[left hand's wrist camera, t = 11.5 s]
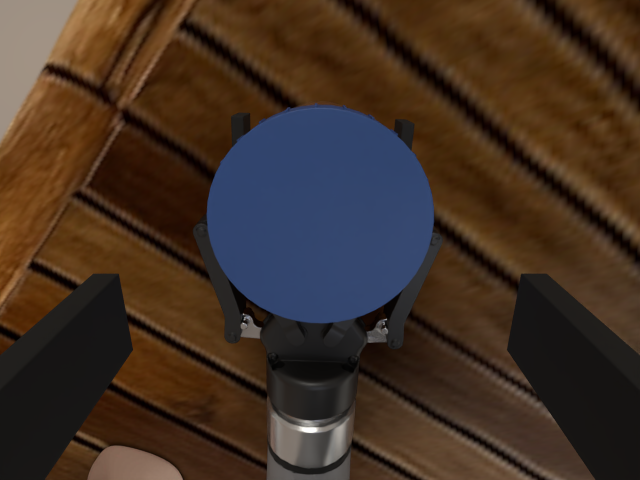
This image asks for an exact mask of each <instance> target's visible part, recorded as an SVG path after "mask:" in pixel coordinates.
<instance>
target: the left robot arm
mask: <svg viewBox="0 0 640 480" xmlns="http://www.w3.org/2000/svg"><path fill="white" fill-rule="evenodd" d="M132 350H133V348H132V342H131V337H130V332H129V326H128V321H127V316H126V310H125V305H124V300H123V294H122V289H121V284H120V278H119V274H93V275H92V276H90V277H89V278H88V279H87V280H86V281H85V282H84V283H82V284H81V285H80V286H79V287H78V288H77V289H76V290H74V291H73V292H72V293H71V294H70V295H69V296H68V297H66V298H65V299H64V300H63V301H62V302H61V303H60V304H58V305H57V306H56V307H55V308H54V309H53V310H52V311H50V312H49V313H48V314H47V315H46V316H45V317H44V318H42V319H41V320H40V321H39V322H38V323H37V324H36V325H34V326H33V327H32V328H31V329H30V330H29V331H28V332H26V333H25V334H24V335H23V336H22V337H21V338H20V339H18V340H17V341H16V342H15V343H14V344H13V345H12V346H10V347H9V348H8V349H7V350H6V351H5V352H4V353H2V354H1V355H0V480H45V478H46V477H47V475H48V474H49V472H50V471H51V469H52V468H53V466H54V465H55V463H56V462H57V461H58V459H59V458H60V456H61V455H62V453H63V452H64V450H65V449H66V447H67V446H68V444H69V443H70V441H71V440H72V439H73V437H74V436H75V434H76V433H77V431H78V430H79V428H80V427H81V425H82V424H83V422H84V421H85V419H86V418H87V416H88V415H89V414H90V412H91V411H92V409H93V408H94V406H95V405H96V403H97V402H98V400H99V399H100V397H101V396H102V394H103V393H104V392H105V390H106V389H107V387H108V386H109V384H110V383H111V381H112V380H113V378H114V377H115V375H116V374H117V372H118V371H119V370H120V368H121V367H122V365H123V364H124V362H125V361H126V359H127V358H128V356H129V355H130V353H131V352H132ZM507 350H508V352H509V353H510V355H511V356H512V358H513V359H514V361H515V362H516V364H517V365H518V367H519V368H520V370H521V371H522V372H523V374H524V375H525V377H526V378H527V380H528V381H529V383H530V384H531V386H532V387H533V389H534V390H535V392H536V393H537V394H538V396H539V397H540V399H541V400H542V402H543V403H544V405H545V406H546V408H547V409H548V411H549V412H550V414H551V415H552V416H553V418H554V419H555V421H556V422H557V424H558V425H559V427H560V428H561V430H562V431H563V433H564V434H565V436H566V437H567V439H568V440H569V441H570V443H571V444H572V446H573V447H574V449H575V450H576V452H577V453H578V455H579V456H580V458H581V459H582V461H583V462H584V463H585V465H586V466H587V468H588V469H589V471H590V472H591V474H592V475H593V477H594V478H595V480H640V355H639V354H638V353H636V352H635V351H634V350H633V349H632V348H631V347H630V346H628V345H627V344H626V343H625V342H624V341H623V340H622V339H620V338H619V337H618V336H617V335H616V334H615V333H614V332H612V331H611V330H610V329H609V328H608V327H607V326H606V325H604V324H603V323H602V322H601V321H600V320H599V319H598V318H596V317H595V316H594V315H593V314H592V313H591V312H590V311H588V310H587V309H586V308H585V307H584V306H583V305H582V304H580V303H579V302H578V301H577V300H576V299H575V298H574V297H572V296H571V295H570V294H569V293H568V292H567V291H566V290H564V289H563V288H562V287H561V286H560V285H559V284H558V283H556V282H555V281H554V280H553V279H552V278H551V277H550V276H548V275H547V274H521V278H520V284H519V289H518V294H517V300H516V305H515V310H514V316H513V321H512V326H511V332H510V337H509V342H508V348H507Z"/></svg>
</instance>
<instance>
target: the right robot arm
mask: <svg viewBox="0 0 640 480" xmlns="http://www.w3.org/2000/svg"><path fill="white" fill-rule="evenodd" d="M231 123H232V147H233V146H234V145H235V144H236V143H237V139H239V138H240V137H241V136H243V135H246V134H247V133H248V132H249V131H250V113H237V114H235V115H233V116H231ZM394 132H396V133H397V134H398V136H397V137H399V138H400V139H401V140H402V141H403V142H404V143H405V144H406V145H407V147H408V148H409V149H410V150H411V149H412V141H413V132H414V123H412V122H410V121H408V120H401V119H395V128H394ZM193 234H194V237H195V239H196V242H197V244H198V247H199V250H200V252H201V255H202V258H203V260H204V263H205V266H206V268H207V271H208V273H209V276H210V279H211V281H212V284H213V287H214V289H215V292H216V295H217V297H218V300H219V302H220V305H221V308H222V310H223V313H224V316H225V339H226V341H227V342H229V343H237V342H238V341H239V340H240V337H249V338H260V340H261V342H262V343H263V345H264V346H265V349H266V353H267V393H268V396H267V441H268V457H267V480H349V479H350V456H351V445H352V437H353V429H354V417H355V405H356V399H355V397H356V393H357V383H358V371H359V360H360V354H361V351H362V350H363V348H364V347H365V346H366V344H367V342H387V344H388V346H389V348H391V349H398V348H400V347H401V346H402V344H403V333H404V323H405V321H406V319H407V316H408V314H409V312H410V310H411V308H412V306H413V304H414V302H415V299H416V297H417V295H418V293H419V291H420V289H421V287H422V285H423V283H424V280H425V278H426V276H427V274H428V272H429V270H430V268H431V266H432V264H433V261H434V259H435V257H436V255H437V253H438V251H439V249H440V247H441V245H442V241H443V239H442V236H441V235H440V233H439V232H438V231H437V229H436V228H435V227H434V226H433V232H432V237H431V241H430V245H429V248H428V251H427V253H426V256H425V258H424V260H423V263H422V264H421V266H420V268H419V269H418V271H417V273H416V274H415V276H414V277H413V278H412V279H411V281H410V282H409V283H408V285H407V286H406V287H405V288H404V289H403V290H402V291H401V292H400V293H399V294H398V295H396V296H395V297H394V298H393V299H391V300H390V301H389V302H387V303H386V304H385V306H384V313H382V312H380V313H378V315H377V316H376V317H375V320H374V322H373V323H372V324H371V325H367V326H366V325H365V323H364V322H363V320H362V319H361V318H360V317H357V318H354V319H350V320H345V321H340V322H333V323H308V322H300V321H295V320H291V319H287V318H284V317H281V316H278V315H276V314H273V313H271V312H270V314H269V315H268V316H267V317H266V318H265V319H264V321H263V322H261V321H258V320H257V319H256V318H255V315H254V312H253V311H252V309H251V308H249V307H247V308H246V300H245V296H244V295H243V294H242V293H241V292H240V291H239V290H238V289H237V288H236V287H235V286H234V285H233V283H232V282H231V281H230V280H229V279H228V277H227V276H226V274H225V273H224V271H223V270H222V268H221V266H220V265H219V263H218V261H217V259H216V257H215V254H214V251H213V248H212V246H211V243H210V238H209V233H208V225H207V214H205V215H204V216H203V217H202V218H201V219H200V221H199V222H198V223H197V224H196V226H195V227H194V229H193Z"/></svg>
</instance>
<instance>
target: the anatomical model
mask: <svg viewBox="0 0 640 480" xmlns="http://www.w3.org/2000/svg"><path fill="white" fill-rule="evenodd" d="M88 480H183V478H182V476H181V474H180V473H179V471H178V470H177V469H176V468H175V467H174V466H173V465H172V464H171V463H169V462H168V461H166V460H164V459H162V458H160V457H158V456H156V455H153V454H151V453H148V452H145V451H141V450H138V449H134V448H130V447H125V446H110V447H107V448H106V449H104V450H103V451H102V452H101V453H100V455H99V456H98V458H97V459H96V461H95V462H94V464H93V465H92V467H91V470H90V473H89V475H88Z"/></svg>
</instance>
